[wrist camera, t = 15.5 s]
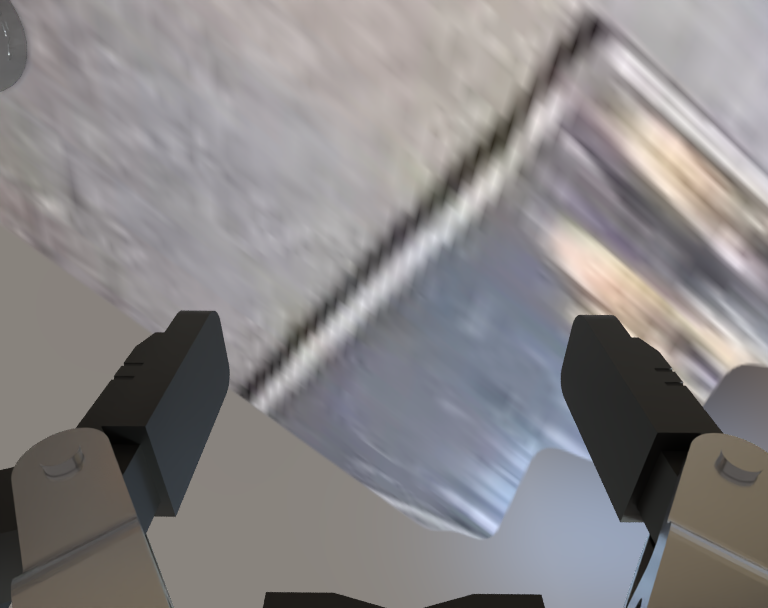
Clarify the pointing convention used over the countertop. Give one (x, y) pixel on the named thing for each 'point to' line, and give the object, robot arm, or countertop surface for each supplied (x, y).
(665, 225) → the countertop surface
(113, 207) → the countertop surface
